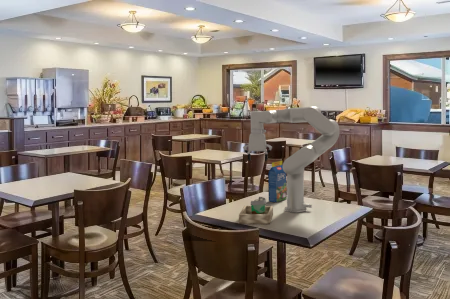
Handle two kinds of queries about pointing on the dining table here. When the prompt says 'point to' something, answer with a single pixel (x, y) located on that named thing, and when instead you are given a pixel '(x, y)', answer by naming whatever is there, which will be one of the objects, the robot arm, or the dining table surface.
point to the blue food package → (277, 183)
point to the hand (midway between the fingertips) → (257, 160)
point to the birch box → (255, 216)
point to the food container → (258, 206)
